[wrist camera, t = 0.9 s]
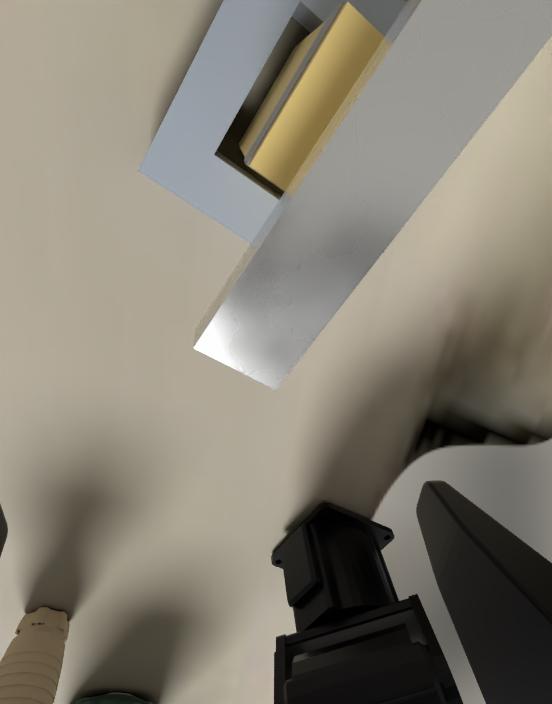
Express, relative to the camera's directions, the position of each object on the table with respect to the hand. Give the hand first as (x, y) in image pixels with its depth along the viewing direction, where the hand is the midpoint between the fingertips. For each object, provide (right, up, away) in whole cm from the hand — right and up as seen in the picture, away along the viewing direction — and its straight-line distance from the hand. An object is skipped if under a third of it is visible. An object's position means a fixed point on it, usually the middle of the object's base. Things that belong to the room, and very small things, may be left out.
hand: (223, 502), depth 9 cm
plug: (+2, +12, +9) cm, 15 cm away
